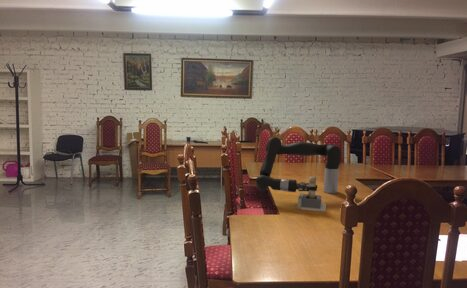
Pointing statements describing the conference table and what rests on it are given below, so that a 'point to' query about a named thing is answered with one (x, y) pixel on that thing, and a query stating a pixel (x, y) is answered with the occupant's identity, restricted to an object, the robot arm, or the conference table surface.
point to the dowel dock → (311, 203)
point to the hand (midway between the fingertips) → (316, 187)
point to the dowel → (312, 183)
